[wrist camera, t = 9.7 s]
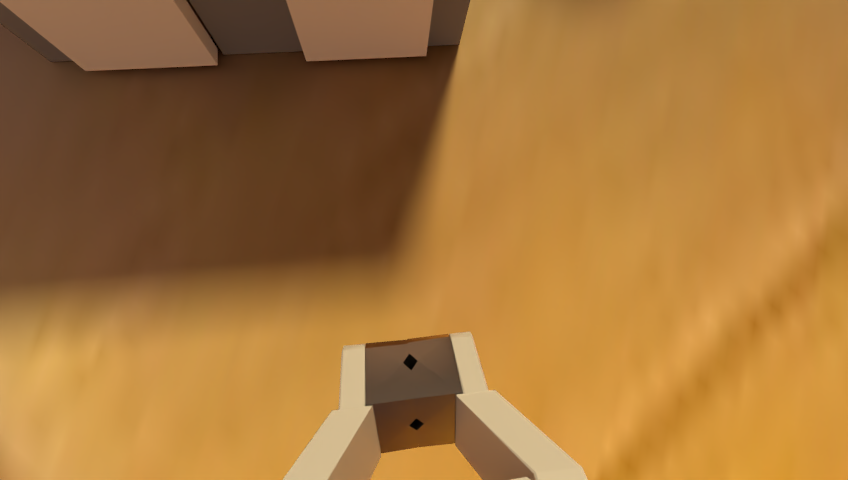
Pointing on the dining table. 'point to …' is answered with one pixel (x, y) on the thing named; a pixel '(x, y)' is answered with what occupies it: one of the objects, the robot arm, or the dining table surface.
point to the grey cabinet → (254, 26)
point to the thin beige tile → (121, 32)
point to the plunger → (361, 28)
